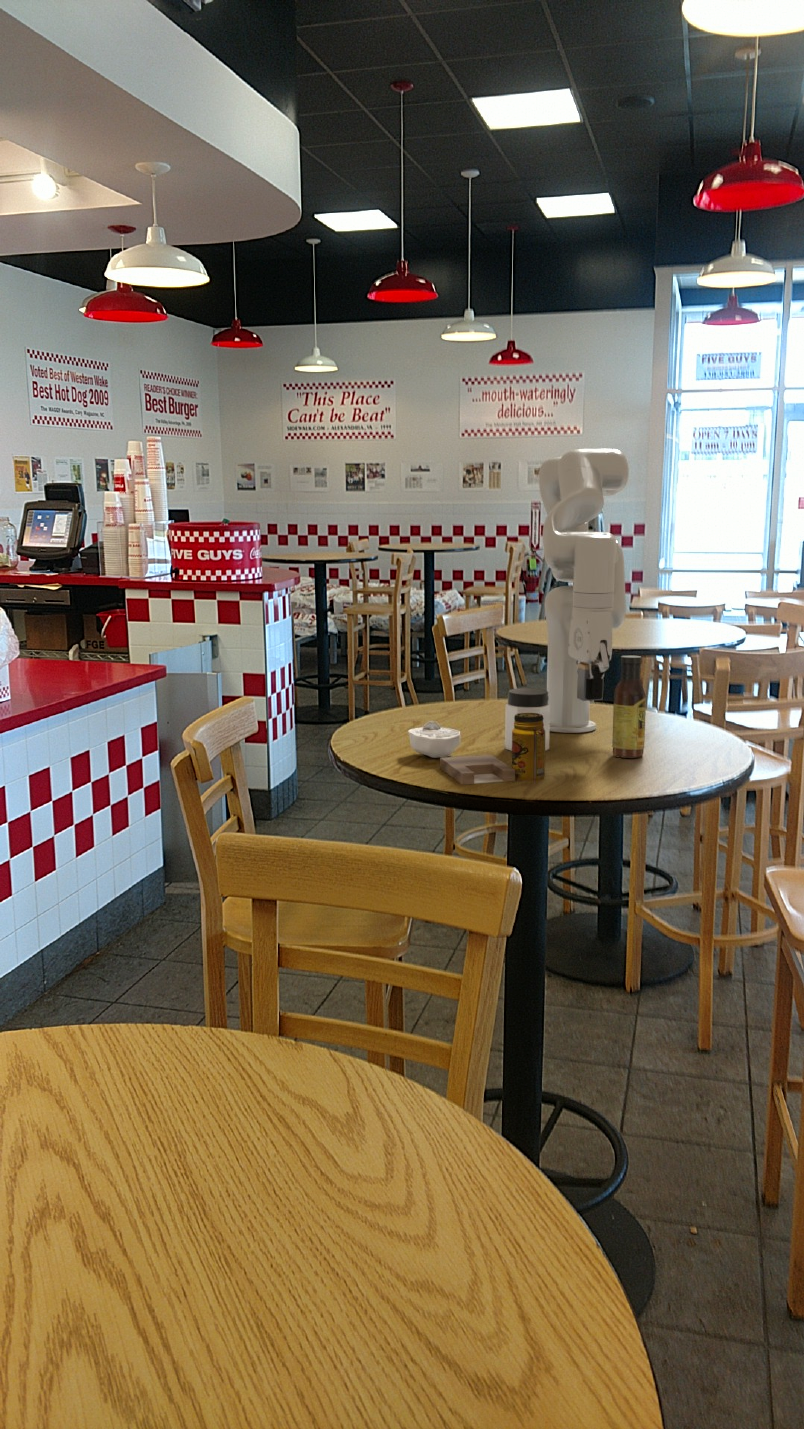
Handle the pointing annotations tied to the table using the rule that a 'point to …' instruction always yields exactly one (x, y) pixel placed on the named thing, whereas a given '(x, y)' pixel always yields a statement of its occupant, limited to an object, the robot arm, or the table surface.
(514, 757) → the condiment
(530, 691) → the jar
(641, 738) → the sauce bottle
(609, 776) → the table surface
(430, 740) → the cell model
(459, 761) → the notched board
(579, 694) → the grey and orange block
